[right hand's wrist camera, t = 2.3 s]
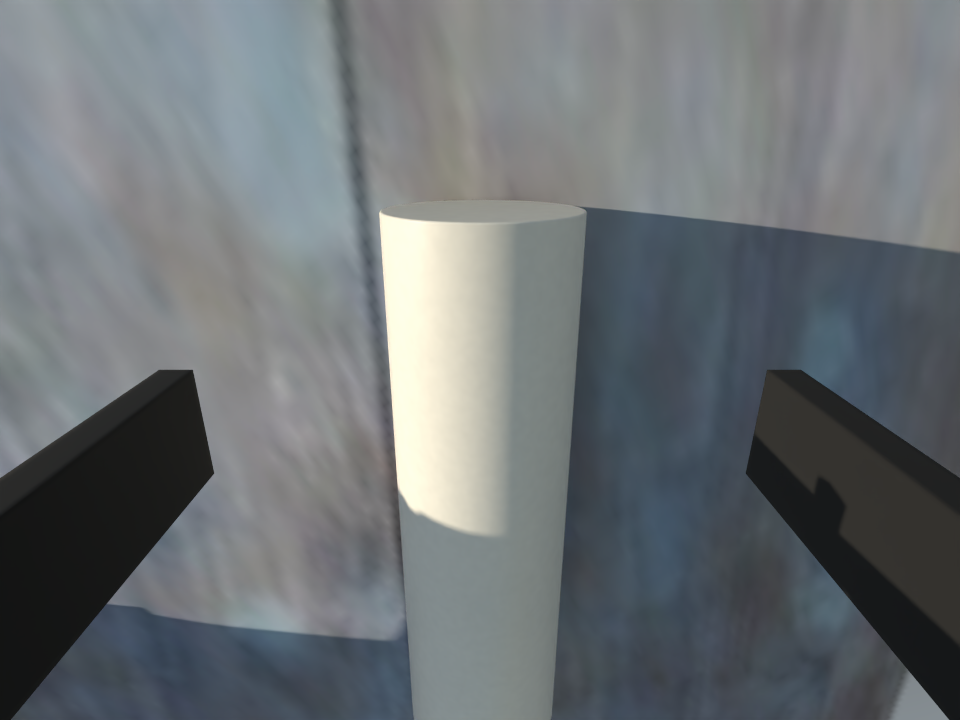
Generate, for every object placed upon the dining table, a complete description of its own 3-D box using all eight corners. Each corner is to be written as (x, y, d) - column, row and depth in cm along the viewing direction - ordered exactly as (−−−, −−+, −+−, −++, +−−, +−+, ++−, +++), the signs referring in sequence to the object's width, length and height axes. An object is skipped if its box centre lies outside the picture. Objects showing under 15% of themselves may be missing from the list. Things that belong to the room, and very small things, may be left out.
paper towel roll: (395, 199, 24) (359, 222, 17) (569, 199, 24) (607, 222, 17) (420, 640, 34) (403, 773, 27) (544, 640, 34) (561, 774, 27)
